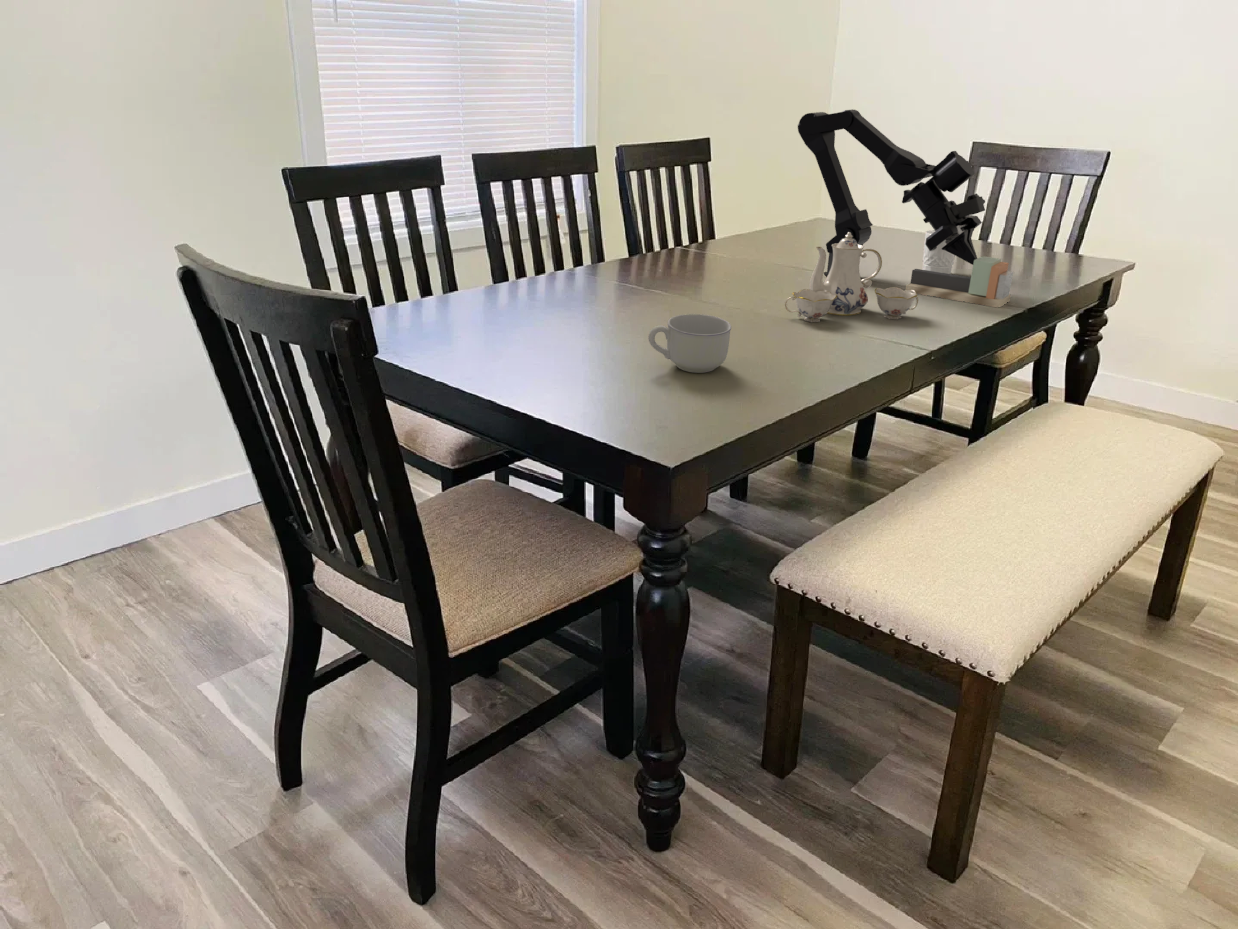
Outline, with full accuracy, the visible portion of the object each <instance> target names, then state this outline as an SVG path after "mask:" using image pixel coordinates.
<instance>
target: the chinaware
mask: <svg viewBox="0 0 1238 929" xmlns="http://www.w3.org/2000/svg"><path fill="white" fill-rule="evenodd" d="M845 237H846V238H843V239H841V241H840V242H839V243H835V244H832V247H833V261H832V266H831V269H830V272H829V274H828V276H826V278H825V280H824V281H823V278H824V272H825V267H826V262H827V253H826V250H825V249H824V248H823V247H822V246H816V249H817V251H818V254H819V256H818V259H817V262H816V265H815V267H814V269H813V271H812V274H811V277H810V279H809V289H807V288H804V289H800V290H799V291H798V292H795V291H794V292H792V293H791V294H792V296H790V297H787V299H786V300H785V302H784V303H785V304H784V308H785V309H786V310H787V312H788V313H795V312H797V313H798V314H797V317H802V316H804V321H806V322H810V323H813V322H814V323H816V322H821V317H824V316H825V315H826V314H829V315H833V316H834V315H836V316H855V315H859V314H861V312H862V311H861V309H863V308H864V307H865V306H866V305H868V303H869V298H868V294H867V292H866V290H865V289H869V288H870V287H871V286H872V284H873V281H872V280H871V279H874V278H875V277H876V276H877V275H878V274H879V272H881V269H882V267H883V266H882V264H883V260H882V256H881V254H880V252H879V251H877V250H875V249H874V248H865V246H862V245H859V244H857V242H856V240H855V239H852V237H853V236H852V235H851V233H850V232H848V233H847V235H845ZM866 252H871V253H873V254H875V255H876V257H877V261H878V264H877V268H876V269H875V271H874V272H873V273H872V274H871V275H870V276H867V277H863V278H862V279H861V273H860V263H859V262H861V258H862V259H865V258H867V255H868V254H867V253H866ZM905 290H906V289H905ZM905 290H904V289H902V288H900V287H896V286H891V287H887V288H885V289H883V288H882V287H881V288H880V287H877V288H875V289H874V294H875V296H876V301H877V305H878V308H879V309H880V311H881V312H882V313H884V314H885V315H883V316H882V317H884V318H887V319H888V320H890V319H891V320H899V319H901V318H902V316H901V315H906V313H907V311H911V310H914V309H916V307H917V306H918V304H919V297H918V294H916V292H915V291H914V290H906V291H905ZM789 300H792V301H794V300H795V303H796V308H797V310H790V309H789V308H788V307H787V303H788V301H789ZM914 301H916V302H915V304H914V305H913V303H914ZM912 305H913V307H911V306H912Z"/></svg>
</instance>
